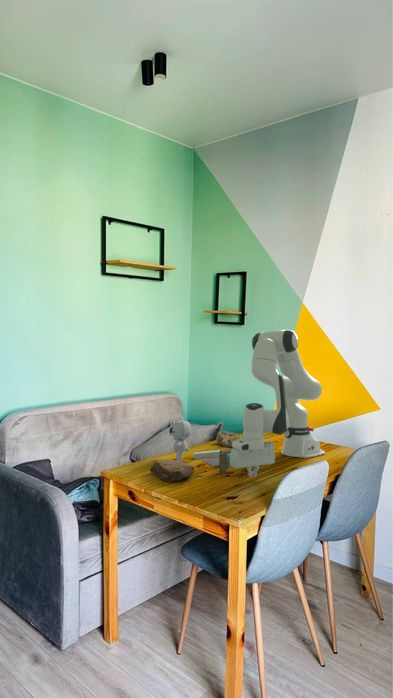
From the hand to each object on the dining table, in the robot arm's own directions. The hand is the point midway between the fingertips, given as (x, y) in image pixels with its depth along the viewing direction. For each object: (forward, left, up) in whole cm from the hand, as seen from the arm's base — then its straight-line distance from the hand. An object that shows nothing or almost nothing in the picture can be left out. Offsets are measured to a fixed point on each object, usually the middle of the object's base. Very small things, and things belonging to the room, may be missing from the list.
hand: (252, 476), depth 195 cm
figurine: (-23, -54, -2) cm, 59 cm away
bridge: (0, -13, -2) cm, 14 cm away
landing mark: (0, -29, -2) cm, 29 cm away
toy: (+16, -38, -2) cm, 41 cm away
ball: (0, -22, +1) cm, 22 cm away
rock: (+29, -17, -2) cm, 34 cm away
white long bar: (0, -39, -2) cm, 39 cm away
